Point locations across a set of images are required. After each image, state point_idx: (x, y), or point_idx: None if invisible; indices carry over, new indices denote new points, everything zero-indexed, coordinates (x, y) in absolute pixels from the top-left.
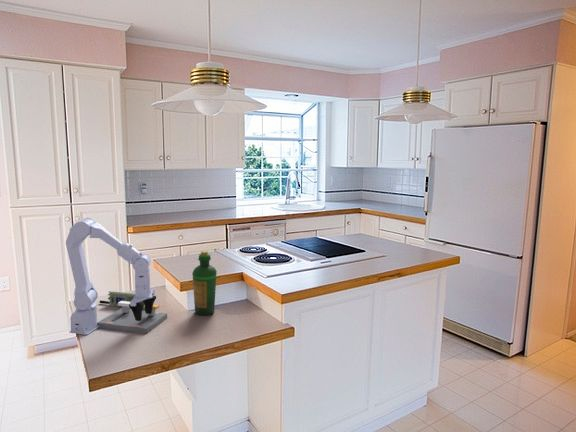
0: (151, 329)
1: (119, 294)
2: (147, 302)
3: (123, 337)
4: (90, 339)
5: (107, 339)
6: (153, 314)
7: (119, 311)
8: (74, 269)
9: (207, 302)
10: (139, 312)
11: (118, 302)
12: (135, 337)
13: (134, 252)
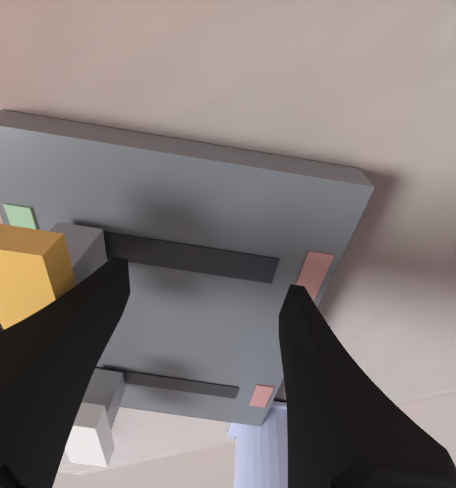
0: (284, 157)
1: None
2: (67, 388)
3: (400, 289)
4: (391, 391)
5: (409, 344)
6: (86, 232)
7: None
8: None
9: None
10: (357, 373)
11: (101, 465)
12: (420, 225)
13: None
